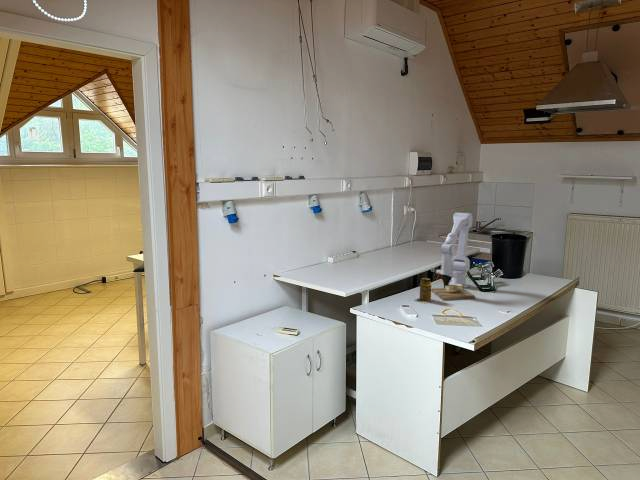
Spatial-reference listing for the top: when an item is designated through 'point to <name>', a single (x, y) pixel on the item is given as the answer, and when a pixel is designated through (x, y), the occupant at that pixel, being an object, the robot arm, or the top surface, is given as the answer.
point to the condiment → (425, 290)
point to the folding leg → (454, 287)
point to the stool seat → (452, 294)
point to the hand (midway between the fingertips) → (446, 288)
